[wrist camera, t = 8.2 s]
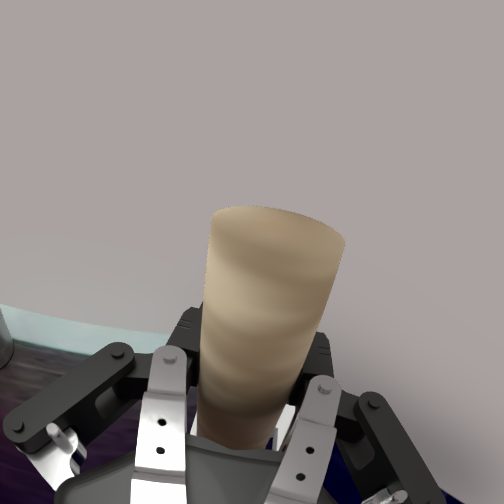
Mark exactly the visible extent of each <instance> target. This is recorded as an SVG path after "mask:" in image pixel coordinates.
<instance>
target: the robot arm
mask: <svg viewBox="0 0 504 504" xmlns="http://www.w3.org/2000/svg"><path fill="white" fill-rule="evenodd" d="M202 312H203V302H202V304H201V306H200V308H199V309H198V308H194V307H191V308H189V309H188V310H186V311H185V312H184V313H183V315H182V316H181V318H180V320H179V322H178V324H177V326H176V327H175V329H174V331H173V333H172V334H171V336H170V338H169V340H168V342H167V343H166V345H165V346H162V347H159V348H158V349H156V350H155V352H154V353H151V354H141V353H134V351H133V349H132V348H131V346H129V345H128V344H126V343H122V342H114V343H111V344H108V345H107V346H105V347H104V348H102V349H101V350H99V351H98V352H97V353H95V354H94V355H92V356H91V357H89V358H88V359H86V360H85V361H83V362H82V363H80V364H79V365H78V366H76V367H75V368H73V369H72V370H70V371H69V372H67V373H66V374H64V375H63V376H62V377H60V378H59V379H57V380H56V381H54V382H53V383H51V384H50V385H48V386H47V387H46V388H44V389H43V390H41V391H40V392H38V393H37V394H35V395H34V396H33V397H31V398H30V399H28V400H27V401H25V402H24V403H22V404H21V405H20V406H18V407H17V408H15V409H14V410H12V411H11V412H9V413H8V414H7V415H6V417H5V418H4V421H3V430H4V433H5V435H6V436H7V437H8V438H9V439H10V440H11V441H12V442H13V443H14V445H15V446H16V447H17V448H18V450H19V451H20V452H22V453H23V454H24V455H25V456H26V457H27V458H28V459H29V460H30V461H31V462H32V463H33V465H34V466H35V467H36V469H37V470H38V471H39V472H40V474H41V475H42V476H43V477H44V478H45V480H46V481H47V482H48V483H49V484H50V485H51V486H52V488H53V489H54V490H55V491H56V492H55V496H54V504H338V503H337V502H336V501H335V500H334V499H333V498H332V496H331V495H330V494H329V493H328V492H327V491H326V490H325V488H324V487H323V486H322V484H323V480H324V477H325V474H326V470H327V467H328V463H329V460H330V456H331V452H332V449H333V445H334V441H336V444H337V446H338V448H339V450H340V452H341V454H342V457H343V459H344V461H345V463H346V465H347V467H348V470H349V472H350V474H351V476H352V478H353V480H354V483H355V485H356V487H357V489H358V491H359V493H360V496H361V498H362V500H363V502H362V503H361V504H446V499H445V497H444V495H443V494H442V492H441V490H440V488H439V487H438V485H437V483H436V482H435V480H434V478H433V476H432V475H431V473H430V471H429V470H428V468H427V466H426V464H425V463H424V461H423V459H422V458H421V456H420V455H419V453H418V451H417V449H416V448H415V446H414V445H413V443H412V441H411V440H410V438H409V436H408V435H407V433H406V431H405V430H404V428H403V426H402V425H401V423H400V422H399V420H398V418H397V417H396V415H395V414H394V412H393V411H392V409H391V407H390V406H389V405H388V403H387V401H386V400H385V398H384V397H383V396H382V395H380V394H378V393H376V392H365V393H363V394H362V395H361V396H360V397H358V396H355V395H352V394H349V393H347V392H345V391H343V390H342V389H341V386H340V384H339V383H338V381H337V380H335V379H334V374H333V366H332V358H331V352H330V344H329V340H328V339H327V337H326V335H325V334H324V333H320V332H317V331H316V334H315V336H314V339H313V341H312V344H311V346H310V349H309V352H308V354H307V357H306V359H305V362H304V364H303V366H302V369H301V371H300V374H299V376H298V378H297V381H296V383H295V385H294V388H293V390H292V392H291V394H290V397H289V405H290V406H295V413H294V415H293V417H292V419H291V422H290V424H289V427H288V429H287V432H286V434H285V436H284V439H283V441H282V444H281V446H280V448H279V450H278V451H274V450H266V449H254V450H231V449H229V448H226V447H224V446H222V445H220V444H217V443H215V442H213V441H211V440H209V439H207V438H203V437H199V436H195V435H191V434H187V393H188V391H189V388H190V386H194V387H197V384H198V375H199V357H200V340H201V325H202ZM13 350H14V344H13V340H12V338H11V335H10V333H9V330H8V328H7V325H6V323H5V320H4V317H3V315H2V312H1V309H0V368H2V367H3V366H4V365H5V364H6V363H7V362H8V361H9V359H10V358H11V356H12V353H13ZM139 399H141V400H143V401H142V408H141V416H140V424H139V432H138V441H137V449H135V450H133V451H131V452H129V453H127V454H124V455H122V456H120V457H118V458H116V459H114V460H111V461H109V462H107V463H105V464H102V465H100V466H98V467H95V468H93V469H90V470H88V471H85V472H83V473H80V474H79V469H80V466H81V465H82V463H83V462H84V461H85V459H86V455H87V452H86V448H85V446H87V445H88V444H89V443H90V442H91V441H93V440H94V439H95V438H96V437H97V436H98V435H100V434H101V433H102V432H103V431H104V430H105V429H107V428H108V427H109V426H110V425H111V424H112V423H113V422H115V421H116V420H117V419H118V418H119V417H120V416H121V415H123V414H124V413H125V412H126V411H127V410H128V409H129V408H131V407H132V406H133V405H134V404H135V403H136V402H137V401H138V400H139Z"/></svg>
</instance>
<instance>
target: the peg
mask: <svg viewBox="0 0 504 504" xmlns="http://www.w3.org/2000/svg"><path fill="white" fill-rule="evenodd" d="M344 247H345V241H344V239H343V238H342V236H341V235H340V234H339V233H338V232H337V231H335V230H334V229H333V228H331V227H329V226H327V225H325V224H324V223H322V222H319V221H317V220H315V219H312V218H310V217H306V216H304V215H301V214H297V213H293V212H289V211H285V210H280V209H275V208H268V207H258V206H235V207H228V208H224V209H221V210H218V211H216V212H215V213H214V214H213V216H212V219H211V228H210V237H209V246H208V256H207V267H206V276H205V277H206V278H205V287H204V299H203V312H202V325H201V340H200V357H199V375H198V397H197V432H196V436H199V437H203V438H207V439H209V440H211V441H213V442H215V443H217V444H220V445H222V446H224V447H226V448H229V449H231V450H254V449H265V447H266V445H267V443H268V441H269V439H270V437H271V435H272V433H273V431H274V429H275V427H276V425H277V422H278V420H279V418H280V416H281V414H282V412H283V410H284V408H285V405H286V403H287V401H288V399H289V397H290V394H291V392H292V390H293V388H294V385H295V383H296V381H297V378H298V376H299V374H300V371H301V369H302V366H303V364H304V362H305V359H306V357H307V354H308V352H309V349H310V346H311V344H312V341H313V339H314V336H315V334H316V331H317V328H318V325H319V323H320V320H321V317H322V315H323V312H324V309H325V306H326V303H327V300H328V297H329V294H330V291H331V288H332V286H333V283H334V279H335V276H336V273H337V270H338V267H339V264H340V261H341V257H342V254H343V251H344Z"/></svg>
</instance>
